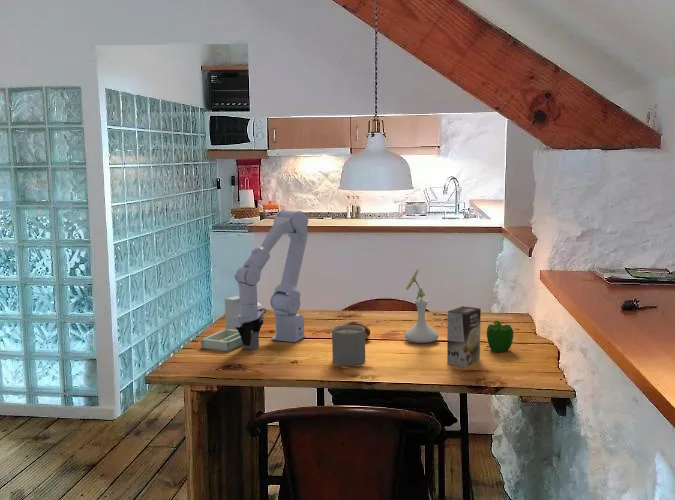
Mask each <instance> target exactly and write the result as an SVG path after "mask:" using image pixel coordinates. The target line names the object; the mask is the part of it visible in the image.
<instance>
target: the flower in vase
mask: <svg viewBox="0 0 675 500" xmlns="http://www.w3.org/2000/svg"><path fill="white" fill-rule="evenodd" d="M418 274H419V268H416V269H415V271H414V272H413V273H412V277H411V278H410V279H409V280H408V284H407V285H406V287H405V290H407V291H408V290H409V289H410V288H411V287H412V285H413V283H415V284H416V285H417V287H418V291H417V292H416V293H417V297H416V299H414V300H413V302H414V304H415V305H416V308H417V321H416V323H415V324H414V325H413V326H411V327H410V328H409V329H408V330H407V331H406V332H405V333H404V338H405V340H407V341H408V342H412V343H415V344H417V343H418V344H419V343H420V344H425V343H426V344H427V343H431V342H434V341H437V340H438V339H439V337H440V336H439V334H438V332H437V331H436V330H435V329H433V327H431V326H430V325H428V323H427V322H426V317H425V316H426V308H427V304H428V303H429V302H430V301H429V300H428V299H425V298H423V297H425V296H426V294H425V292H424V290H423V289H422V288H421V287H420V285H419V283H418V281H417V276H418ZM419 297H420V298H419Z"/></svg>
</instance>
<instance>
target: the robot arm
mask: <svg viewBox="0 0 675 500" xmlns="http://www.w3.org/2000/svg"><path fill="white" fill-rule="evenodd" d="M309 221H310V220H309V218H308V217H307V215H306V214H305V213H304V212H303V211H302V210H298V211H297V210H287V209H281V210H280V211H278V213H277V214H276V216H275V217H274V218H273V224H272V226H271V228H270V229H269V231H268V232H267V235H266V236H265V238H264V240H263V241H262V243H261V245H260V246H257V247H255V248H254V249H252V250H251V254H250V256H249V257H248V258H247V260H246V261H244V263H243V265H242V266H241V267H239V268H238V269H237V270H236V273H235V275H234V279H235V281H236V282H237V284H238V285H237V287H238V290H239V292H238V293H239V295H238V296H240V315H238V319H237V320H235V321H234V327H236V329H237V330H238V332H239V334H240V336H241V339H242V342H243V345H245V346H249V345H250V336H251V330H253V331H255V332H258V334H260V331H261V328H262V326H263V323H264V320H263V319H260V318H265V317H264V316H265V313H264V312H265V311H263V310H262V311H258V303H259V302H258V286H257V285H258V283H259V282H260V280H261V275H262V274H261V273H262V271H263V269H264V267H265V265H266V264H267V262H268V261H269V260H270V258H271V254H270V252H271V251H272V249H274V247H275V246H276V244H277V243H278V242H279V240H280V239H281V237H282V236H284V234H285V235H286V234H287V236H288V237H289V238H290V241H289V246H288V250H287V255H286V259H285V263H284V267H283V273H282V277H281V281H280V284H278V285H277V286H276V287H275V288H274V292H273V294H272V295H271V298H270V300H269V301H270V303H269V304H270V306H271V308H272V309H273V312H274V317H275V318H274V319H275V321H274V323H275V325H274V326H275V336H273V337H271V338H270V340H271V341H272V340H273V341H280V342H286V343H287V342H288V343H297V342H298V341H300V340H302V339H304V338H305V337H306V335H305V317H304V315H302V314H299V313H298V311H299V310H300V308H301V292H300V291H299V289H298V287H297V286H298V281H299V278H300V272H301V269H302V264H303V260H304V255H305V250H306V245H307V241H308V226H309V225H308V224H309ZM257 302H258V303H257Z"/></svg>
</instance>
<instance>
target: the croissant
mask: <svg viewBox="0 0 675 500" xmlns="http://www.w3.org/2000/svg"><path fill="white" fill-rule="evenodd" d="M343 325H358V326H362V327H364V328H365V340H366V339H367V338H369V337H370V336H371V330H370V328H369V327H368V326H367V325H366V324H365V323H363V322H361V321H357V320H352V321H348V322H345V323H343Z"/></svg>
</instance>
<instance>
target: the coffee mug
mask: <svg viewBox="0 0 675 500" xmlns="http://www.w3.org/2000/svg"><path fill="white" fill-rule="evenodd" d="M331 343H332V350H331V351H332V363H333V364H334V365H337V366H343V367H345V366H346V367H353V366H360V365H362V364H364V363H365V362H366V339H365V328H364V327H362V326H358V325H344V324H341V325H337V326H334V327H332V328H331Z"/></svg>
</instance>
